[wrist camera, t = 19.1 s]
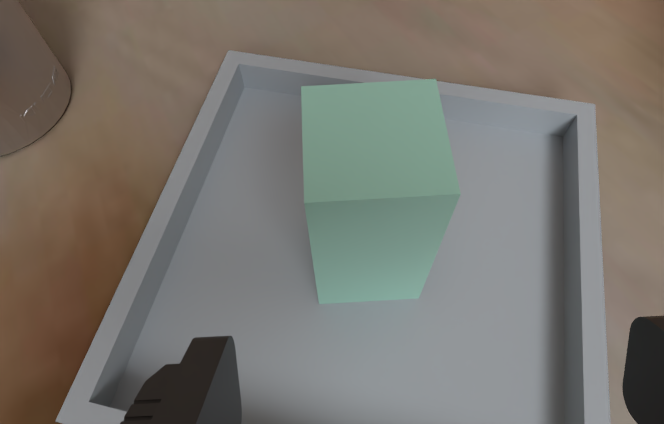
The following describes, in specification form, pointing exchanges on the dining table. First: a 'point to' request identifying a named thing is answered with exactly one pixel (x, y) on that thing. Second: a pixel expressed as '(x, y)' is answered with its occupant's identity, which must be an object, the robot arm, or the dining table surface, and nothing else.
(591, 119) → the tray
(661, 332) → the robot arm
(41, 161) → the dining table surface
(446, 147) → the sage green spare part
